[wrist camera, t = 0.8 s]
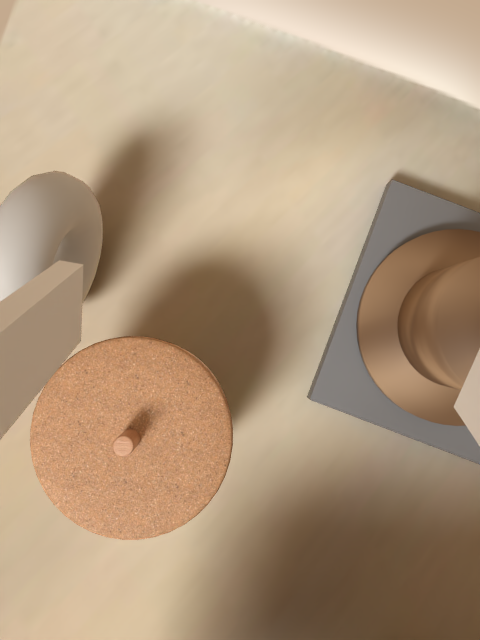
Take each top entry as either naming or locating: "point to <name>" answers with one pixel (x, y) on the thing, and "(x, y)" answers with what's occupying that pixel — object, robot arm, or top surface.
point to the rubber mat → (342, 347)
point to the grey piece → (48, 229)
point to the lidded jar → (131, 437)
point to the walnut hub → (423, 322)
